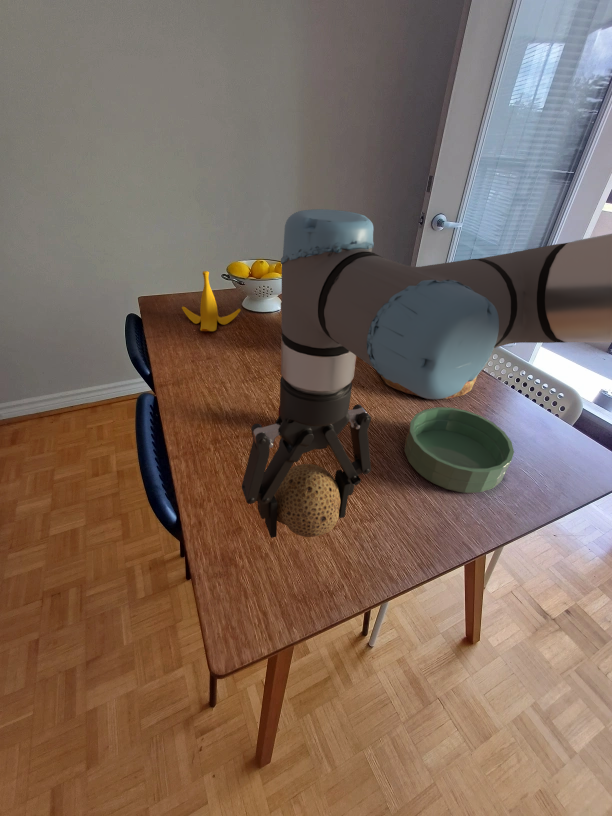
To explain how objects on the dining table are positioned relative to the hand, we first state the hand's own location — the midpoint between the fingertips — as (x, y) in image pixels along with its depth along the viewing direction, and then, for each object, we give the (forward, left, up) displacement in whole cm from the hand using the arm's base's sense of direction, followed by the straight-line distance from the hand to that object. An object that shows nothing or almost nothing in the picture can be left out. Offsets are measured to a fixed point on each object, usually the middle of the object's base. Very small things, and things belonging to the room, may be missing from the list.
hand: (305, 519), depth 54 cm
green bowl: (+12, -38, -10) cm, 41 cm away
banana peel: (+87, -2, -11) cm, 88 cm away
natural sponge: (0, 0, -2) cm, 2 cm away
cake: (+41, -52, -11) cm, 67 cm away
